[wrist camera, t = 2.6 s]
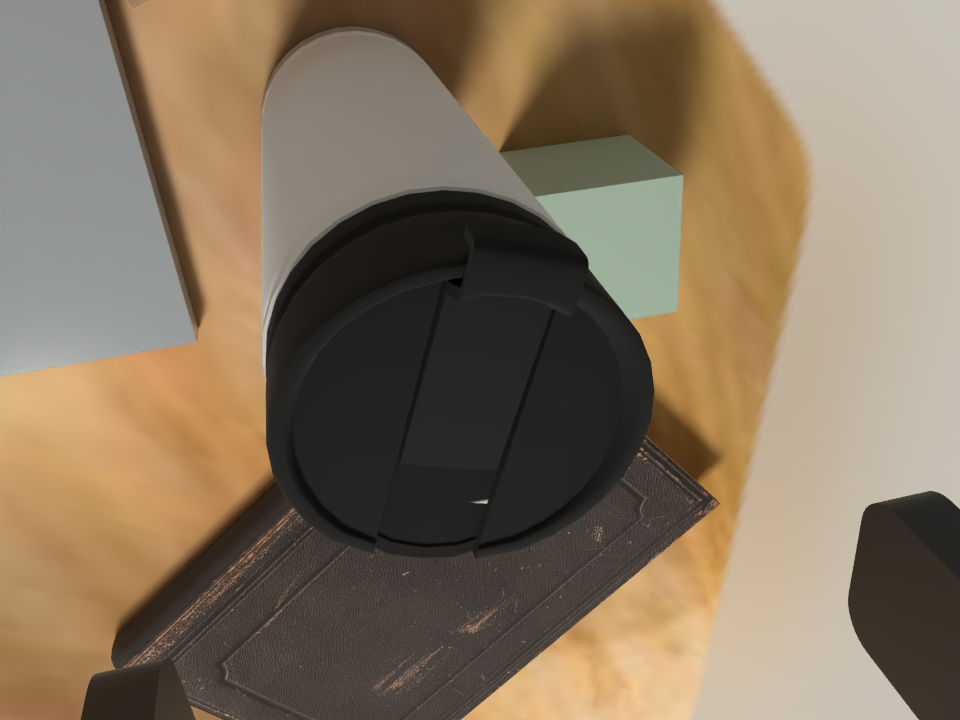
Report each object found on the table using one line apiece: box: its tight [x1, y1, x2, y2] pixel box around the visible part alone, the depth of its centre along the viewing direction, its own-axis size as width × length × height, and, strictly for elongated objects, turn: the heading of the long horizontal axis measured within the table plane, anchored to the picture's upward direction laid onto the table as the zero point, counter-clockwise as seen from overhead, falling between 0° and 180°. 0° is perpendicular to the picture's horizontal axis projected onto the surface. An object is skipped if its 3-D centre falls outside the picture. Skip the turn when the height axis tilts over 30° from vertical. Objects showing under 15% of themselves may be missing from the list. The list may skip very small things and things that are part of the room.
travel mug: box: [261, 26, 654, 559], centre depth 22 cm, size 6×7×20 cm
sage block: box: [499, 135, 683, 320], centre depth 32 cm, size 5×5×5 cm
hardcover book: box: [111, 435, 720, 720], centre depth 40 cm, size 16×23×2 cm
